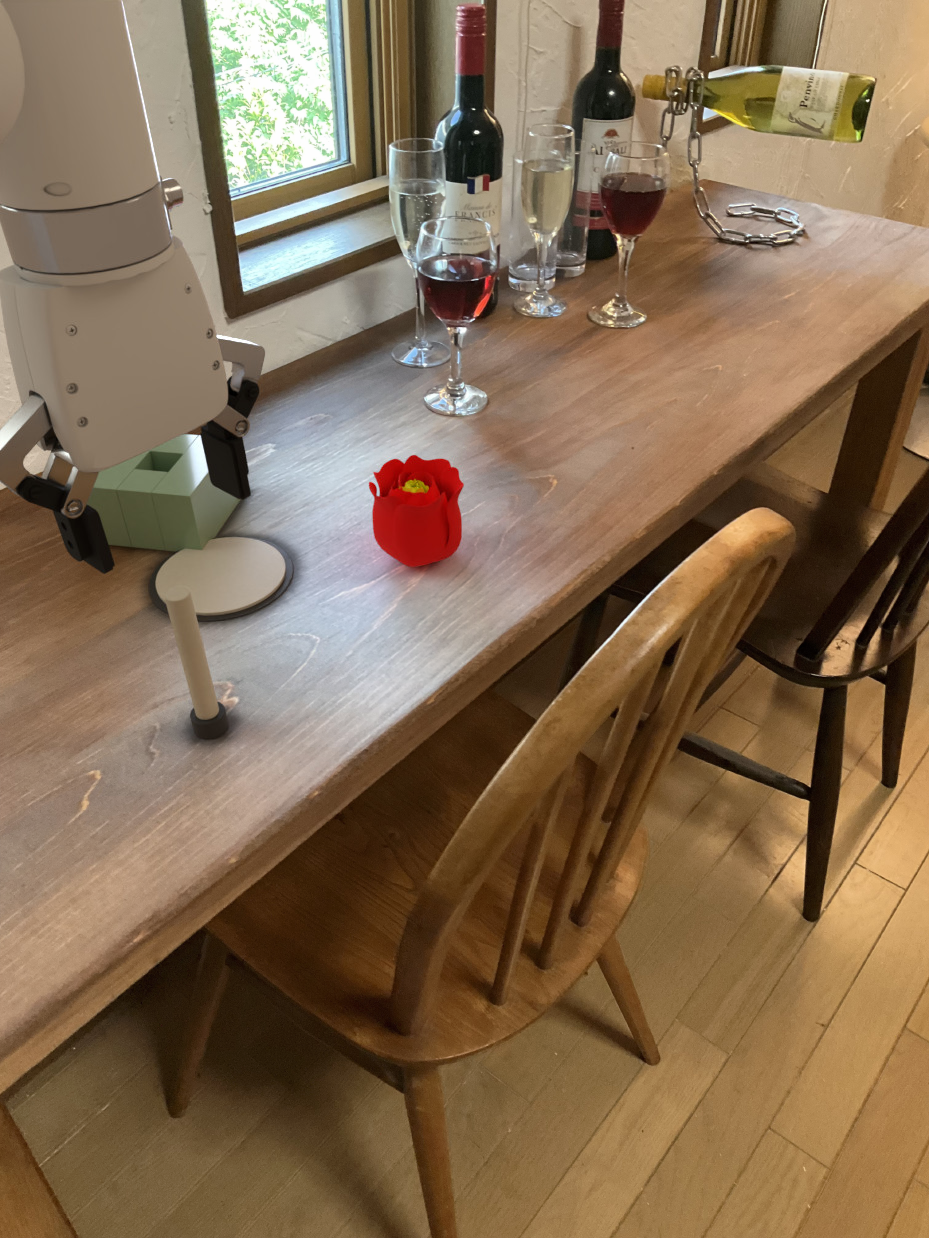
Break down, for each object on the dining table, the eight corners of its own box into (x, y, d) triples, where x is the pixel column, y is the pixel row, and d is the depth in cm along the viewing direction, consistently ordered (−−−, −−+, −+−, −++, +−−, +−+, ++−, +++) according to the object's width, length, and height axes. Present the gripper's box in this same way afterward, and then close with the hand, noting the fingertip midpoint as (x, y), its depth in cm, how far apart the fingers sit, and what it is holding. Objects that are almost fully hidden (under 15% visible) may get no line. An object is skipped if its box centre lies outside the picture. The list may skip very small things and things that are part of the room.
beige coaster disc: (124, 613, 78) (122, 609, 77) (184, 532, 87) (183, 527, 86) (265, 629, 76) (264, 624, 76) (311, 544, 85) (310, 539, 85)
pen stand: (95, 544, 86) (77, 485, 82) (145, 485, 93) (131, 429, 90) (203, 554, 84) (189, 496, 80) (245, 494, 92) (234, 438, 88)
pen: (188, 738, 67) (150, 602, 59) (202, 714, 69) (167, 579, 61) (221, 742, 66) (187, 606, 59) (234, 718, 68) (202, 583, 61)
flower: (393, 525, 87) (387, 446, 82) (475, 536, 86) (475, 457, 81) (364, 575, 81) (356, 493, 76) (452, 587, 80) (450, 506, 75)
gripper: (188, 174, 53) (241, 448, 64) (-128, 262, 43) (-2, 569, 54) (277, 198, 49) (317, 486, 60) (-47, 301, 39) (71, 623, 50)
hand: (166, 525), depth 57 cm, fingers open, 9 cm apart
